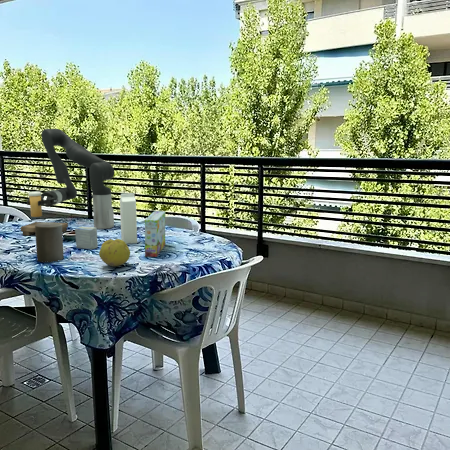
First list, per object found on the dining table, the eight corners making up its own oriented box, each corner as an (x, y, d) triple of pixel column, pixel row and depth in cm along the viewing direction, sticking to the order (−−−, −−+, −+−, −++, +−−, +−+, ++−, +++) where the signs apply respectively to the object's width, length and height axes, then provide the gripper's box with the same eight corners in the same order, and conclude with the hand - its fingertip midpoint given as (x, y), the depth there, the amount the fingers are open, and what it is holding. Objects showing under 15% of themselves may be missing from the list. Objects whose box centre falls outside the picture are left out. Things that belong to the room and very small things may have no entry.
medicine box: (98, 247, 194) (97, 227, 192) (91, 249, 190) (90, 229, 188) (82, 245, 196) (81, 226, 194) (76, 248, 192) (74, 228, 190)
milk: (137, 242, 202) (136, 193, 198) (123, 244, 200) (122, 194, 195) (134, 239, 208) (133, 192, 203) (121, 241, 205) (119, 192, 201)
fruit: (92, 268, 163) (91, 241, 161) (111, 260, 174) (110, 235, 172) (119, 272, 159) (117, 244, 157) (136, 263, 170) (136, 237, 168)
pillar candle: (37, 263, 169) (34, 224, 166) (36, 257, 178) (34, 219, 175) (64, 261, 173) (63, 222, 170) (62, 254, 182) (61, 218, 179)
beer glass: (44, 215, 221) (42, 191, 219) (38, 217, 216) (36, 193, 214) (34, 214, 222) (32, 191, 220) (28, 216, 217) (26, 192, 215)
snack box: (158, 257, 179) (157, 219, 176) (144, 257, 179) (143, 219, 176) (166, 244, 200) (165, 210, 197) (153, 244, 200) (152, 210, 197)
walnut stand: (68, 231, 225) (67, 223, 224) (54, 236, 212) (54, 228, 211) (36, 229, 227) (35, 221, 226) (21, 235, 214) (20, 227, 214)
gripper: (37, 190, 232) (18, 194, 216) (64, 191, 230) (46, 196, 214) (38, 204, 234) (19, 210, 217) (65, 205, 232) (47, 211, 215)
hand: (33, 203), depth 216 cm, fingers closed on beer glass, 5 cm apart
